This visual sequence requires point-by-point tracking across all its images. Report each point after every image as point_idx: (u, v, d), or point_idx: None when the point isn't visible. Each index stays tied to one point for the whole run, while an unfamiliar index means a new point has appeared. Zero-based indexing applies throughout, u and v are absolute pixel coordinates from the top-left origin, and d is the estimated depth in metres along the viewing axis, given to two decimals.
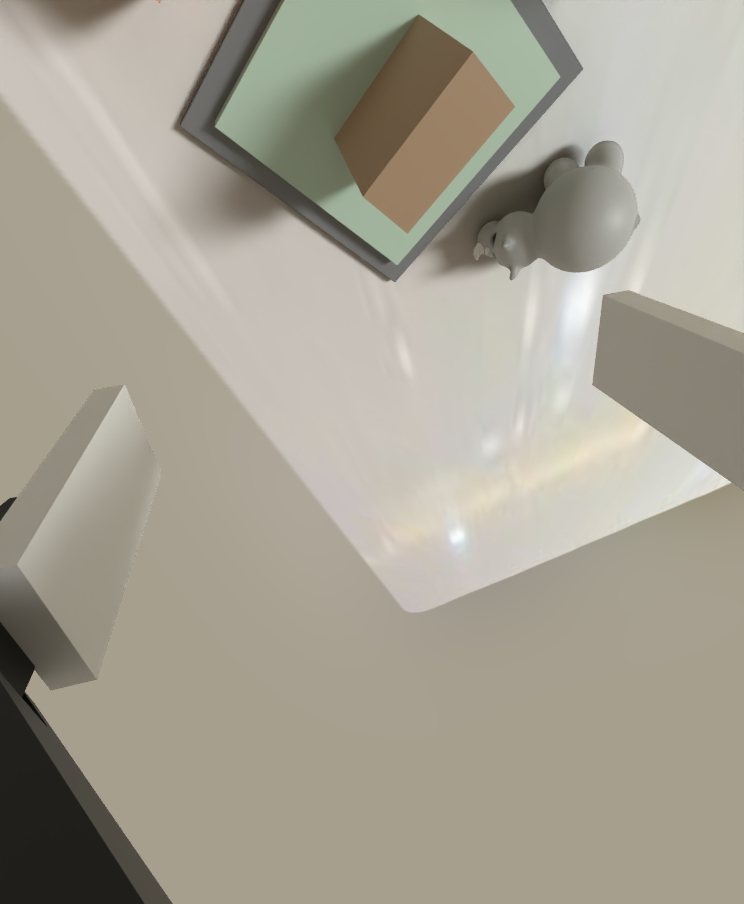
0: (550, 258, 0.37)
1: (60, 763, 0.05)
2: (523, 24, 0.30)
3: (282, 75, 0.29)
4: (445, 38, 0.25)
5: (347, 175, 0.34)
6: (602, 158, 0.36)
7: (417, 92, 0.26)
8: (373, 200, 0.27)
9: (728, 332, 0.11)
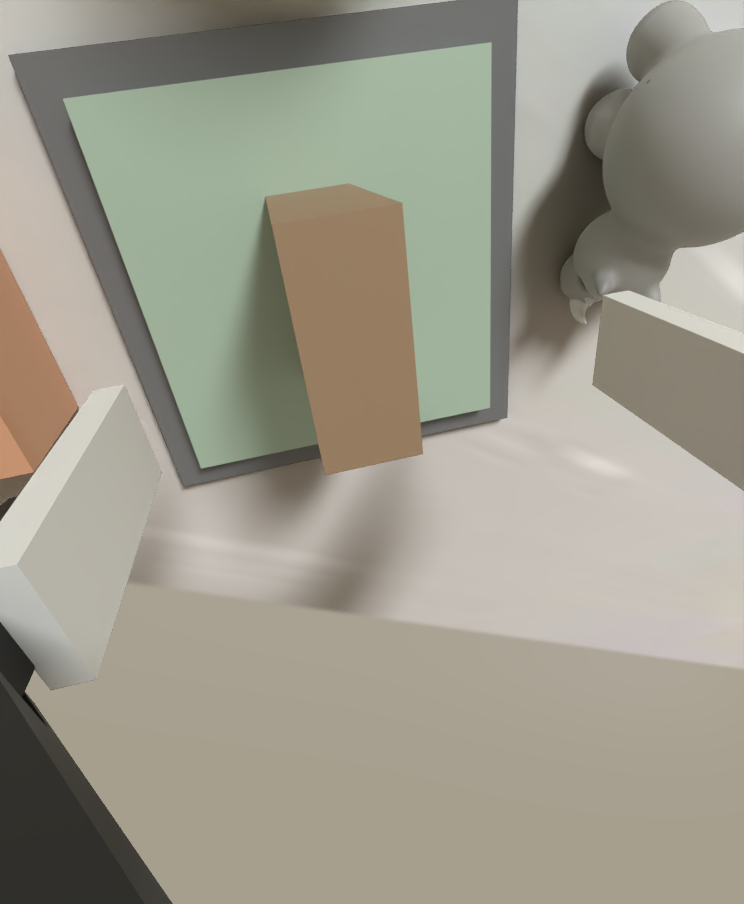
0: (694, 244, 0.20)
1: (60, 763, 0.05)
2: (383, 60, 0.19)
3: (208, 379, 0.24)
4: None
5: None
6: (654, 49, 0.19)
7: None
8: (341, 466, 0.17)
9: (727, 332, 0.11)
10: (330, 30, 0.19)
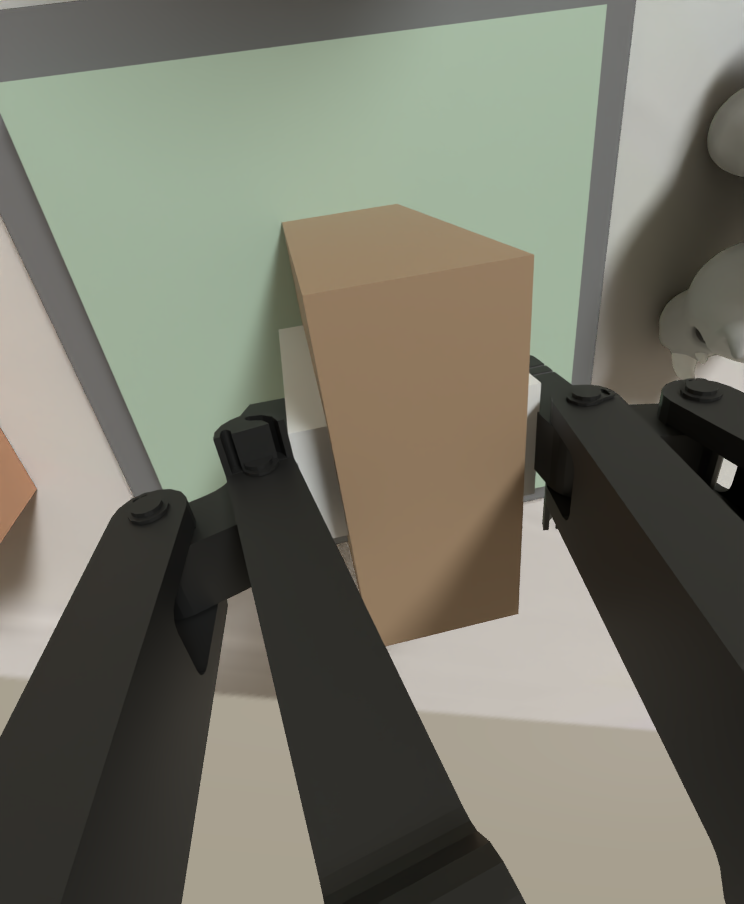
0: None
1: None
2: (453, 29, 0.13)
3: (203, 458, 0.18)
4: (292, 263, 0.10)
5: None
6: None
7: None
8: (397, 637, 0.11)
9: None
10: None
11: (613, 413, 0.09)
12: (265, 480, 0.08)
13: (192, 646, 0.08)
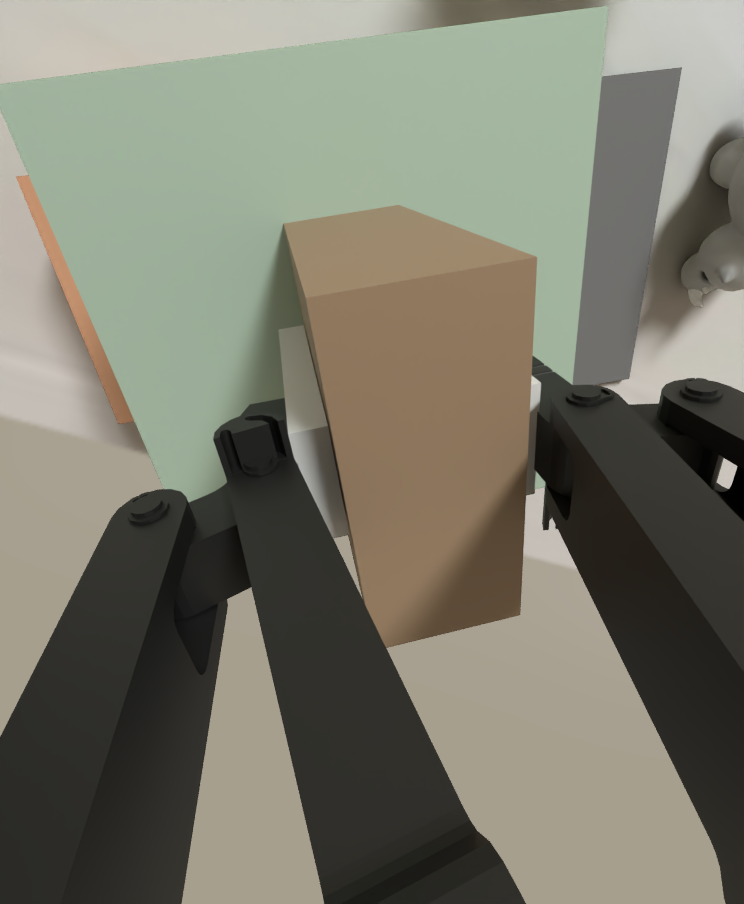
0: None
1: None
2: (455, 30, 0.13)
3: (205, 459, 0.18)
4: (294, 264, 0.10)
5: None
6: None
7: (323, 402, 0.11)
8: (399, 638, 0.11)
9: None
10: None
11: (613, 413, 0.09)
12: (265, 480, 0.08)
13: (192, 646, 0.08)
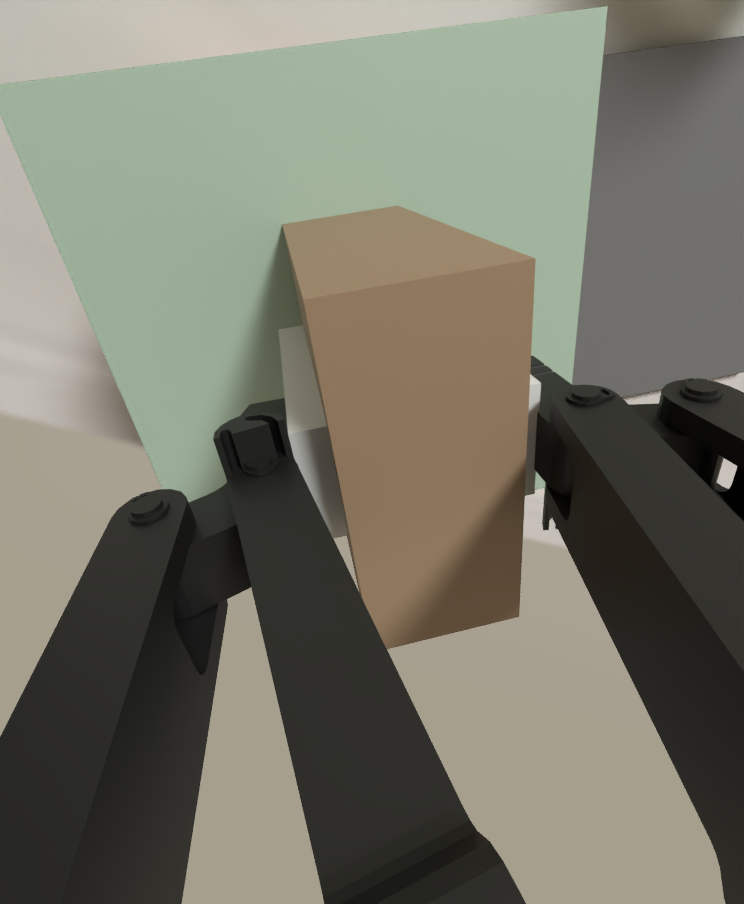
0: None
1: None
2: (454, 31, 0.13)
3: (204, 460, 0.18)
4: (292, 266, 0.10)
5: None
6: None
7: None
8: (397, 640, 0.11)
9: None
10: (715, 50, 0.25)
11: (613, 413, 0.09)
12: (265, 480, 0.08)
13: (192, 646, 0.08)
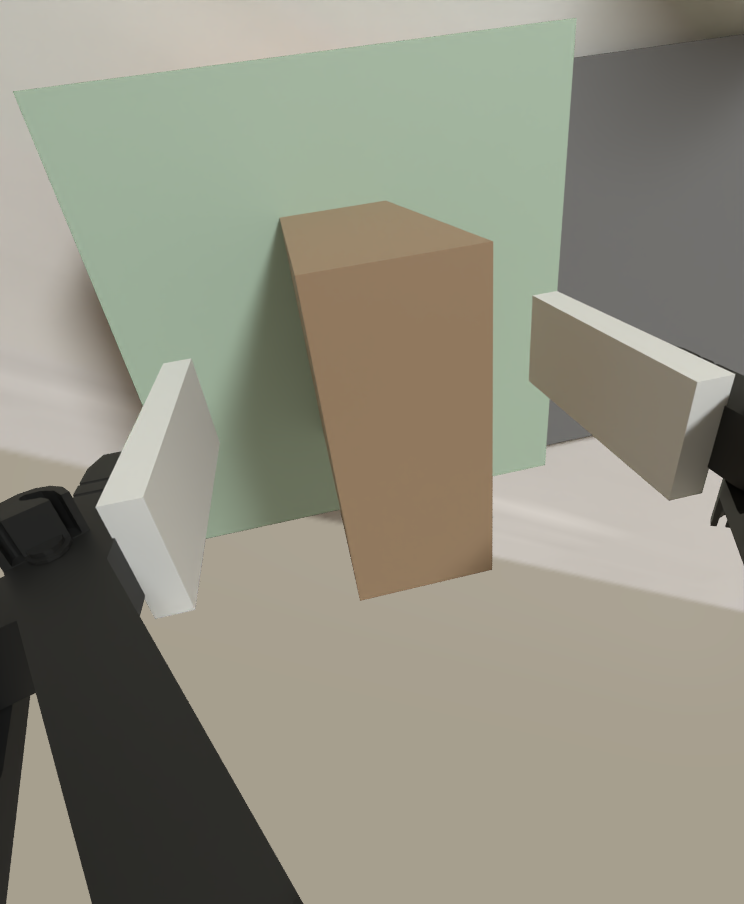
0: None
1: None
2: (436, 41, 0.14)
3: None
4: None
5: None
6: None
7: (313, 375, 0.12)
8: (382, 589, 0.13)
9: (629, 330, 0.11)
10: None
11: None
12: (55, 566, 0.07)
13: None
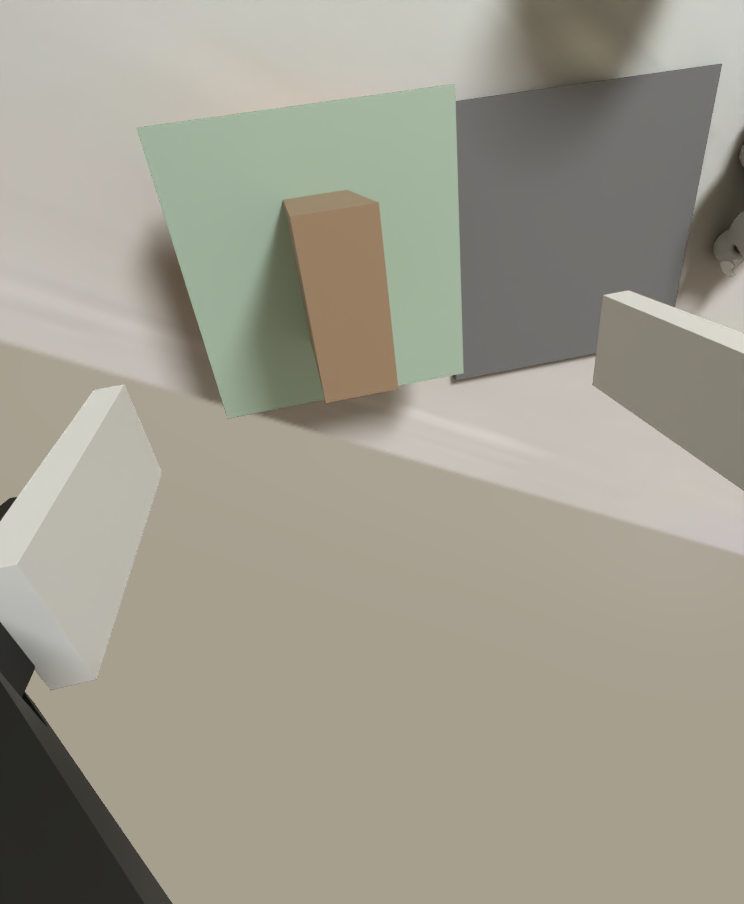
0: None
1: (60, 763, 0.05)
2: (372, 97, 0.25)
3: (235, 344, 0.30)
4: (287, 213, 0.22)
5: None
6: None
7: (300, 278, 0.23)
8: (337, 396, 0.23)
9: (728, 333, 0.11)
10: (615, 86, 0.33)
11: None
12: None
13: None
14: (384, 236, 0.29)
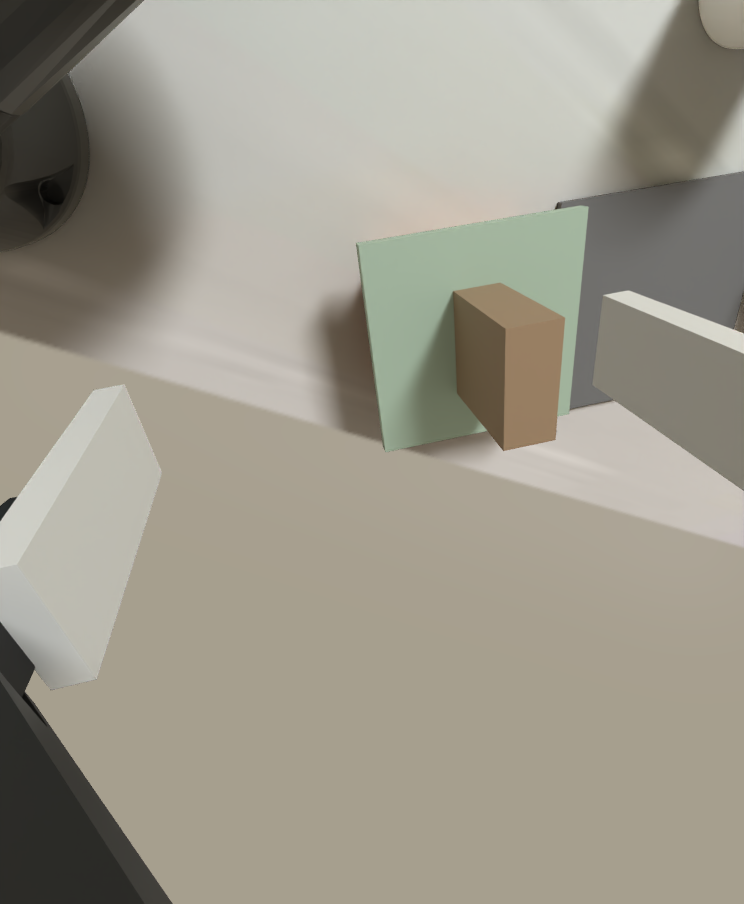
0: None
1: (60, 763, 0.05)
2: (528, 218, 0.34)
3: (401, 396, 0.39)
4: (481, 314, 0.31)
5: None
6: None
7: (489, 361, 0.31)
8: (512, 446, 0.32)
9: (728, 333, 0.11)
10: (692, 186, 0.41)
11: None
12: None
13: None
14: None
